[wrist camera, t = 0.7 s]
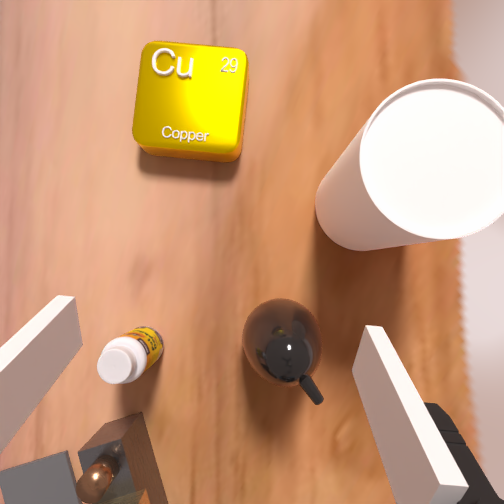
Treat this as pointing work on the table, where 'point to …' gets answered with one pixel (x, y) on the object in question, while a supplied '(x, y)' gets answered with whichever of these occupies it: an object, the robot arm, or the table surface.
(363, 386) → the robot arm
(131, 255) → the table surface
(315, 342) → the pump dispenser
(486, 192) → the canister
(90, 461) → the plane body
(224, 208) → the table surface
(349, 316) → the table surface
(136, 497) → the lever cap
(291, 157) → the table surface
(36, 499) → the rubber mat
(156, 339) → the supplement bottle
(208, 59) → the element tile
